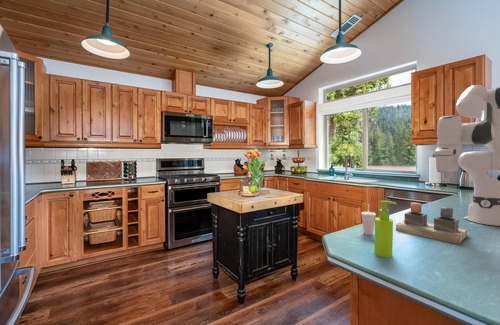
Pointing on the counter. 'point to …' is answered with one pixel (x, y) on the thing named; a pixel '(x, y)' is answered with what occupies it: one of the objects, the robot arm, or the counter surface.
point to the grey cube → (446, 212)
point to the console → (432, 227)
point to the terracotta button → (416, 207)
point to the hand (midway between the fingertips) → (447, 181)
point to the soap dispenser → (384, 232)
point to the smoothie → (368, 221)
